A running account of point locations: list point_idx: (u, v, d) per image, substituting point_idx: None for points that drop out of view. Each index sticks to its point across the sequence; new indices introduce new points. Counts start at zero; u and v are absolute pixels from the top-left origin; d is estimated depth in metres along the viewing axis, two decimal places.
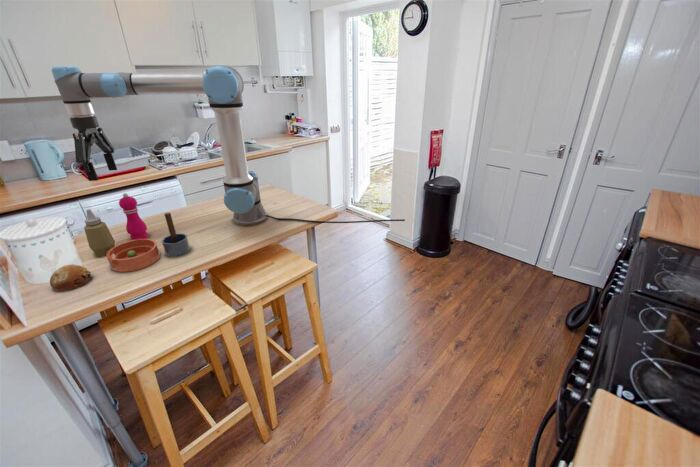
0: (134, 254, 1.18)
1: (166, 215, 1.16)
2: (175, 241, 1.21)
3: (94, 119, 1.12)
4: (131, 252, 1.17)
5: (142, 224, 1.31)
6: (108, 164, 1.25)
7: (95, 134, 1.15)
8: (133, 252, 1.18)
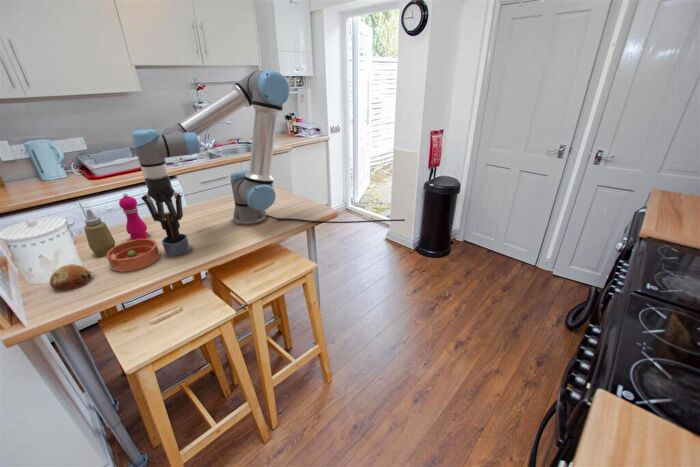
0: (134, 254, 1.18)
1: (166, 215, 1.16)
2: (175, 241, 1.21)
3: (152, 183, 1.07)
4: (131, 252, 1.17)
5: (142, 224, 1.31)
6: None
7: None
8: (133, 252, 1.18)
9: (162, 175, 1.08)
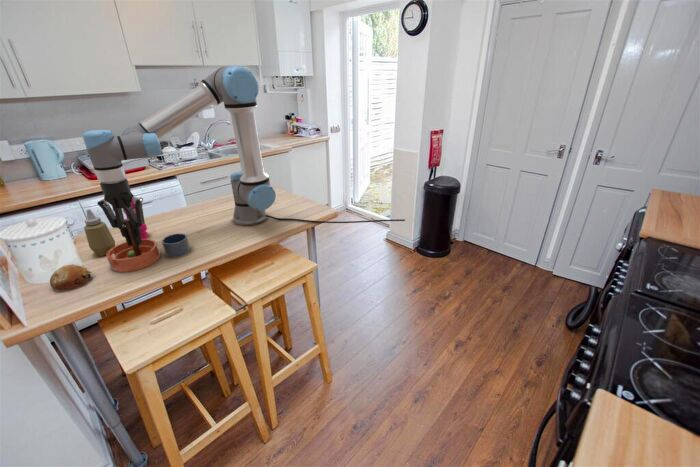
0: (134, 254, 1.18)
1: (126, 221, 1.08)
2: (136, 249, 1.13)
3: (107, 187, 1.00)
4: (131, 252, 1.17)
5: None
6: None
7: None
8: (133, 252, 1.18)
9: (118, 179, 1.00)
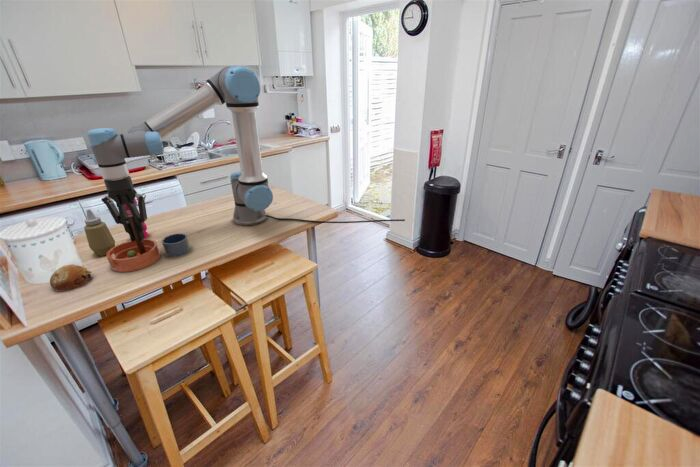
0: (134, 254, 1.18)
1: (129, 217, 1.11)
2: (140, 244, 1.16)
3: (111, 184, 1.03)
4: (131, 252, 1.17)
5: None
6: None
7: None
8: (133, 252, 1.18)
9: (122, 176, 1.03)
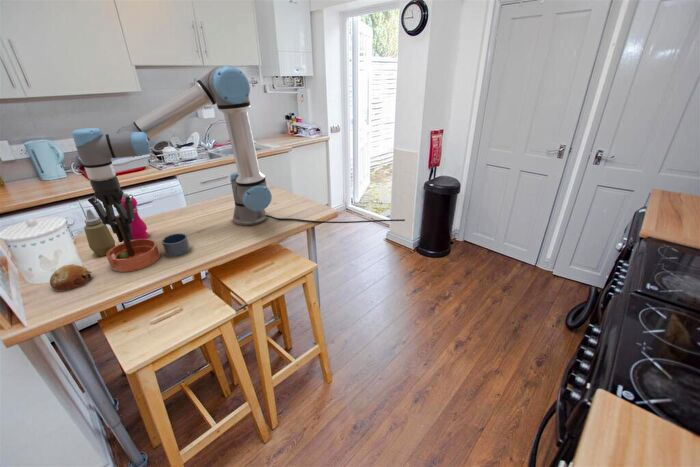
0: (123, 254, 1.16)
1: (116, 218, 1.10)
2: (128, 245, 1.16)
3: (96, 184, 1.02)
4: (120, 256, 1.16)
5: (142, 224, 1.31)
6: None
7: None
8: (120, 254, 1.16)
9: (108, 176, 1.03)
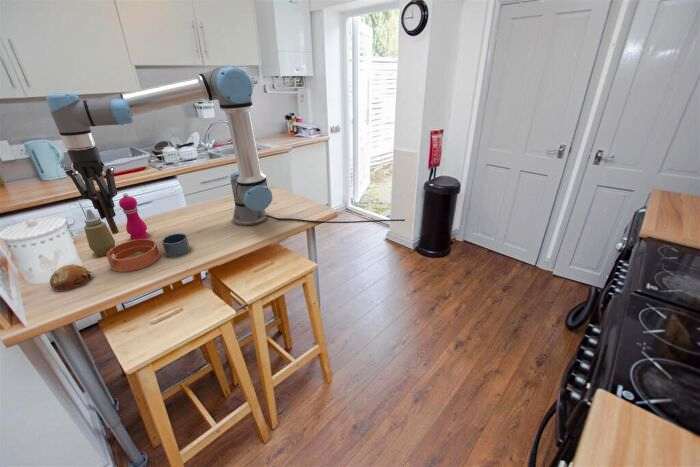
0: None
1: (96, 192, 1.04)
2: (110, 222, 1.09)
3: (74, 154, 0.95)
4: None
5: (142, 224, 1.31)
6: None
7: None
8: None
9: (86, 146, 0.96)
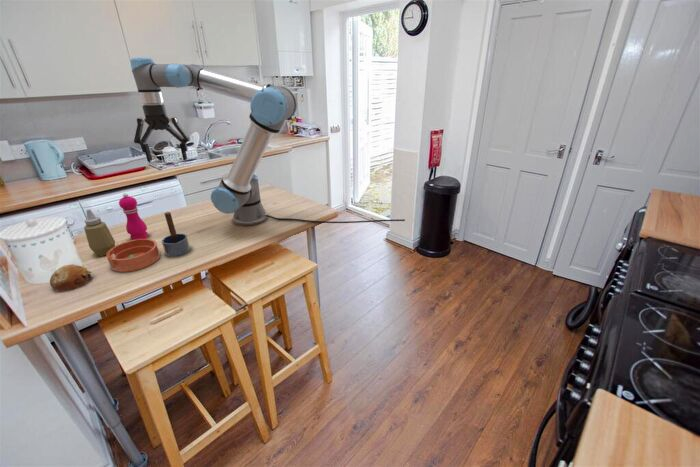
0: None
1: (166, 215, 1.16)
2: (175, 241, 1.21)
3: (148, 108, 1.17)
4: None
5: (142, 224, 1.31)
6: None
7: None
8: None
9: (158, 102, 1.18)
